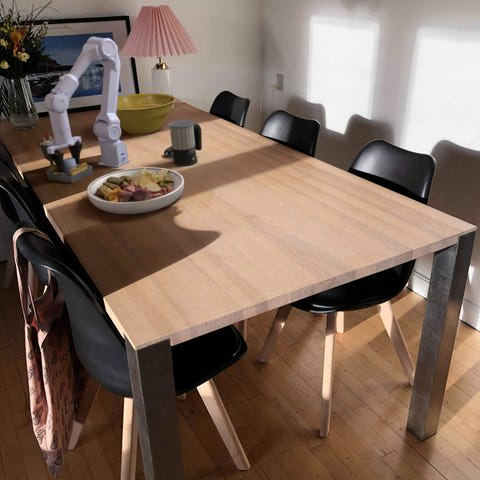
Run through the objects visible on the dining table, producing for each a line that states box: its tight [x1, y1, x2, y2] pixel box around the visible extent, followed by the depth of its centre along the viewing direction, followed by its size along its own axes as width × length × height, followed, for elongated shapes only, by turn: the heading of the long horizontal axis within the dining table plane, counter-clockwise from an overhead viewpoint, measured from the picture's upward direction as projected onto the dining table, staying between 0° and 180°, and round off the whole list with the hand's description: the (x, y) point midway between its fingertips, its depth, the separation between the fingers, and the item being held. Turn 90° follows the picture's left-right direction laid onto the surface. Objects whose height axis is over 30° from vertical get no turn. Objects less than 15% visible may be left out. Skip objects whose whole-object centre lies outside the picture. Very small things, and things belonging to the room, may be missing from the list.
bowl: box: [86, 166, 185, 215], centre depth 160 cm, size 30×30×8 cm
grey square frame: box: [46, 162, 94, 184], centre depth 180 cm, size 11×11×4 cm
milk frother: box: [163, 119, 203, 167], centre depth 189 cm, size 14×16×15 cm
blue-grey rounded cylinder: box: [63, 157, 76, 174], centre depth 179 cm, size 4×4×6 cm
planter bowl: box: [116, 92, 177, 135], centre depth 227 cm, size 32×32×13 cm
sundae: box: [37, 130, 55, 173], centre depth 184 cm, size 7×7×15 cm
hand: (69, 167), depth 179 cm, fingers open, 7 cm apart
